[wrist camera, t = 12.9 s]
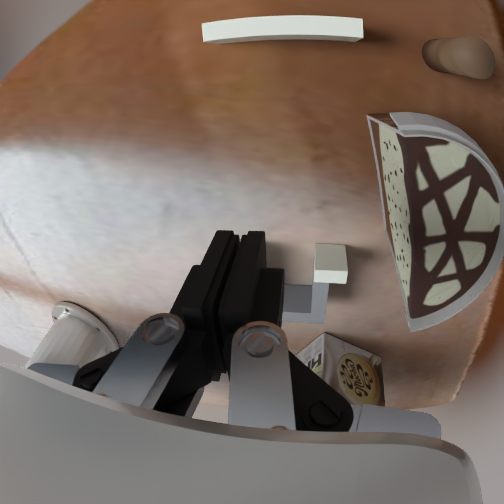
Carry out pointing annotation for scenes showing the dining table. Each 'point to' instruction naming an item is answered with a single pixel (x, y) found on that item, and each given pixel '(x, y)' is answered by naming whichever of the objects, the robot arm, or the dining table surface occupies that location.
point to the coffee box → (346, 369)
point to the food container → (437, 213)
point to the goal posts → (460, 56)
